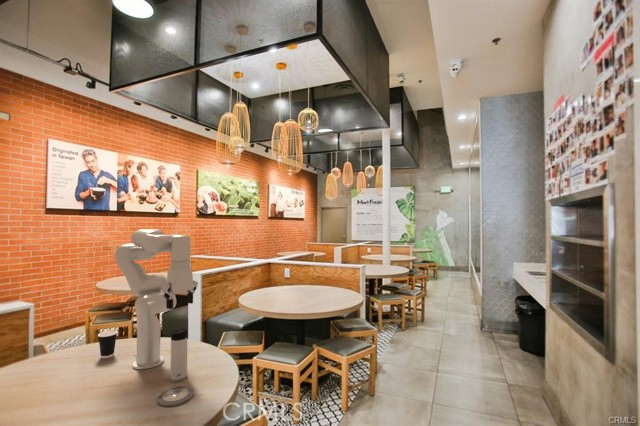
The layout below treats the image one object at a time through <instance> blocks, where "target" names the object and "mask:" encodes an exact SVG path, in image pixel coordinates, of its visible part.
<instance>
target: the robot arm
mask: <svg viewBox="0 0 640 426" xmlns="http://www.w3.org/2000/svg"><path fill="white" fill-rule="evenodd" d="M130 241H131V243H126V244H122V245H119V246H118V247H117V248H116V249H115V252H114V260H115V263H116V266H117V267H118V269H119V270H120V271H121V272H122V274H123V275H124V277H125V279H126V282H127V283H128V286H129V288H130V291H131V292H132V293H131V294H133V295H134V297H138V298H137V299H136V300H135V302H134V309H135V315H136V353H134V354H133V357H135V361H133V363H132V368H133V369H135V370H148V369H151V368H152V369H153V368H155V367H158V366H160V365H161V364H162V363H164V361H165V358H164V356H163V355H161V321H160V320H159V318H158V317H157V316H156V315H157V314H160V313H165V312H168V311H172V310H173V309H174V308H175V307H176V305H177V298H176V294H181V293H184V292H185V293H186V292H187V294H186V303H187V304H193V303H194V294H195V292H196V290H197V287H198V285H199V282H198V281H197V280H196V281H195V280H194V275H193V269H192V267H191V265H192V263H193V261H192V260H191V237H190V235H186V234H185V235H184V234H182V235H181V234H175V233H174V234H165V233H164V231H162V230H161V229H157V228H153V229H151V228H150V229H148V228H147V229H145V228H143V229H138V230H136V231H133V233H132V234H131V235H130ZM159 253H161V254H162V253H170V268H168V271H167V274H166V276H164V275H163V274H160V273H158V274H148V273H147V271H146V270H145V268H144V267H143V266H142V265H141V264H139V263H137V262H136V261H147V260H151V259H154V258H155V256H157V254H159Z"/></svg>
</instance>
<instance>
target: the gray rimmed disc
mask: <svg viewBox="0 0 640 426" xmlns="http://www.w3.org/2000/svg"><path fill="white" fill-rule="evenodd" d="M193 396H194V389H193V388H192V387H191V386H187V385H185V386H184V385H183V386H182V385H180V386H179V385H178V386H175V387H170V388H167V389H166V390H164V391H162V392H161V393H160V394H159V395H158V396H157V404H158V405H159V406H160V407H163V408H172V407H177V406H180V405H182V404H183V405H184V404H186V403H187V402H189V401H190V400H191V399H192V398H193Z"/></svg>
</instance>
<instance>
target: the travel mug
mask: <svg viewBox="0 0 640 426" xmlns="http://www.w3.org/2000/svg"><path fill="white" fill-rule="evenodd" d="M188 330H189V329H187V328H181V329H180V328H179V329H177V330H175V331H173V332H171V334H170V381H171V382H172V383H180V382H183V381H186V379H187V378H188Z"/></svg>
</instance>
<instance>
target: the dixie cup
mask: <svg viewBox="0 0 640 426" xmlns="http://www.w3.org/2000/svg"><path fill="white" fill-rule="evenodd" d="M117 333H118V331H117V330H107V331H102V332H100V333H98V334H97V337H98V343H99V351H100V357H101V359H108V358H112V357H113V356H114V354H115V349H116V341H117V335H118V334H117Z"/></svg>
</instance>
